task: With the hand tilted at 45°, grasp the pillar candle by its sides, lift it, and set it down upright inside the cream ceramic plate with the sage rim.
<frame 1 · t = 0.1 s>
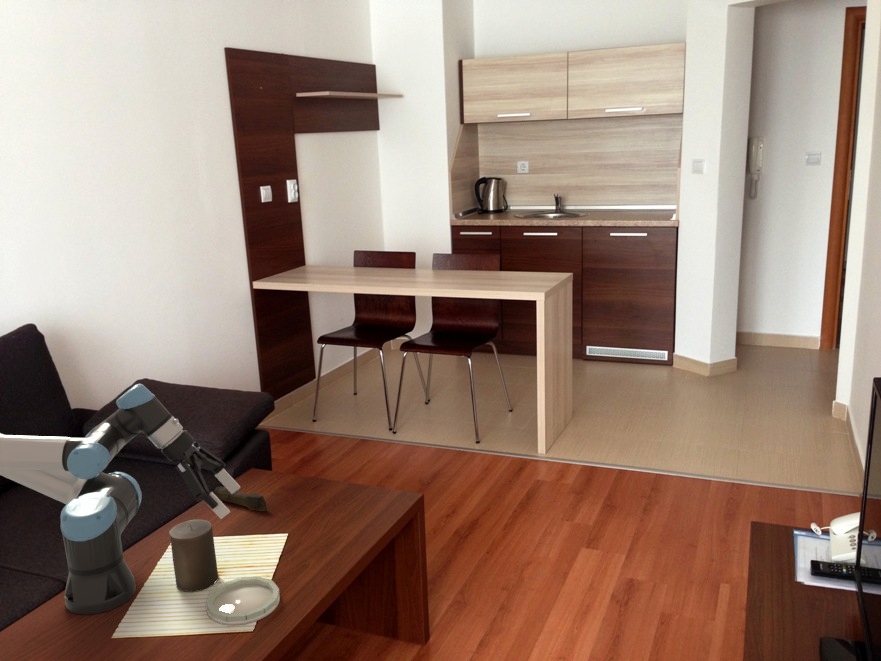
hand: (231, 502, 193), 15 cm above the table, tool tilted 35°, fingers open, 13 cm apart
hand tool: (243, 505, 226), on the table
pillar candle: (197, 581, 187), on the table
candle plate: (243, 603, 177), on the table
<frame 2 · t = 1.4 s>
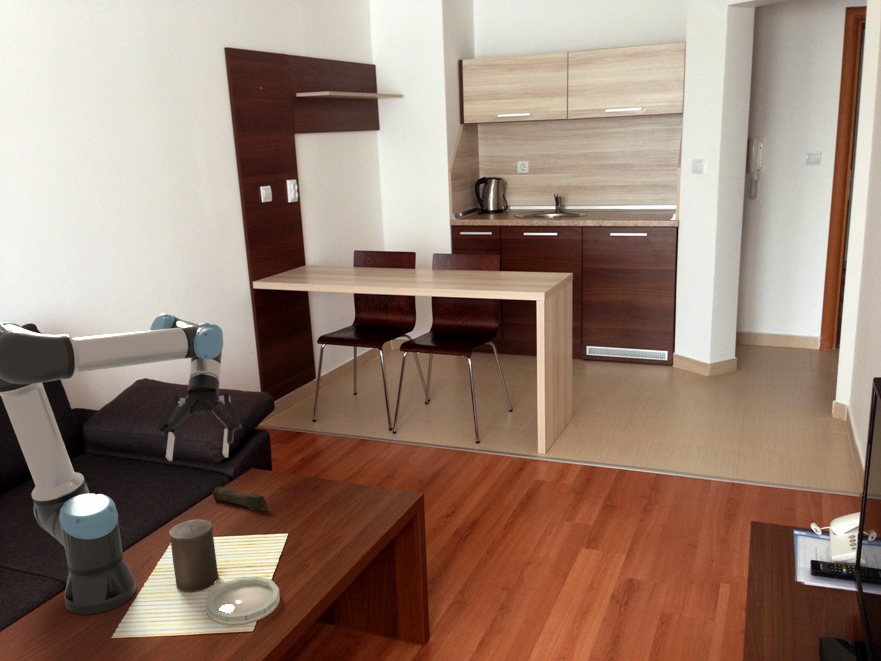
hand: (197, 457, 191), 27 cm above the table, tool tilted 45°, fingers open, 13 cm apart
nothing on the table moved.
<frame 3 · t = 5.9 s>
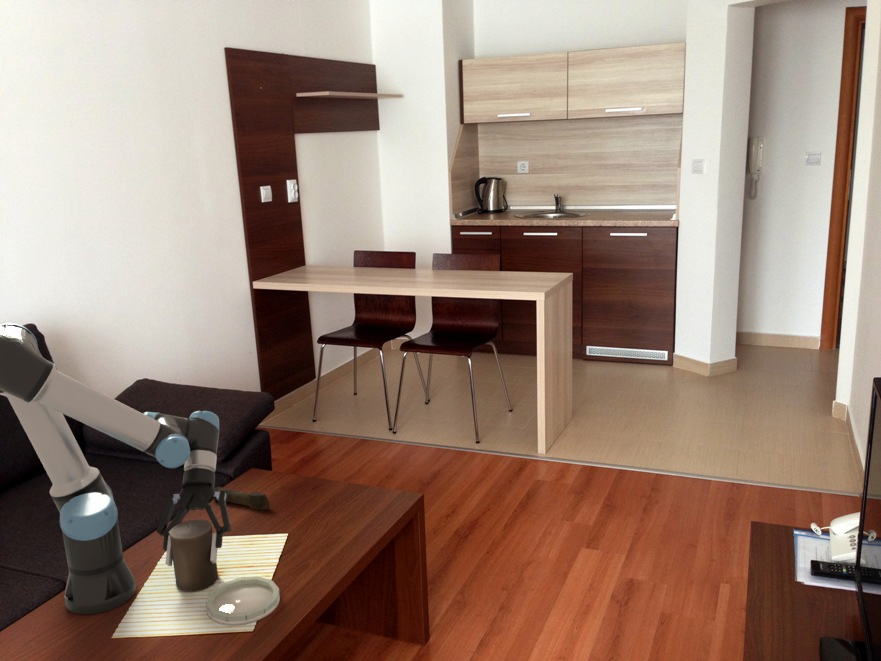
hand: (191, 563, 182), 6 cm above the table, tool tilted 45°, fingers closed on pillar candle, 9 cm apart
pillar candle: (197, 581, 187), on the table, touching gripper
when the fingers open (9 cm above the table, at t = 11.9 s): pillar candle drops 2 cm, resting on candle plate.
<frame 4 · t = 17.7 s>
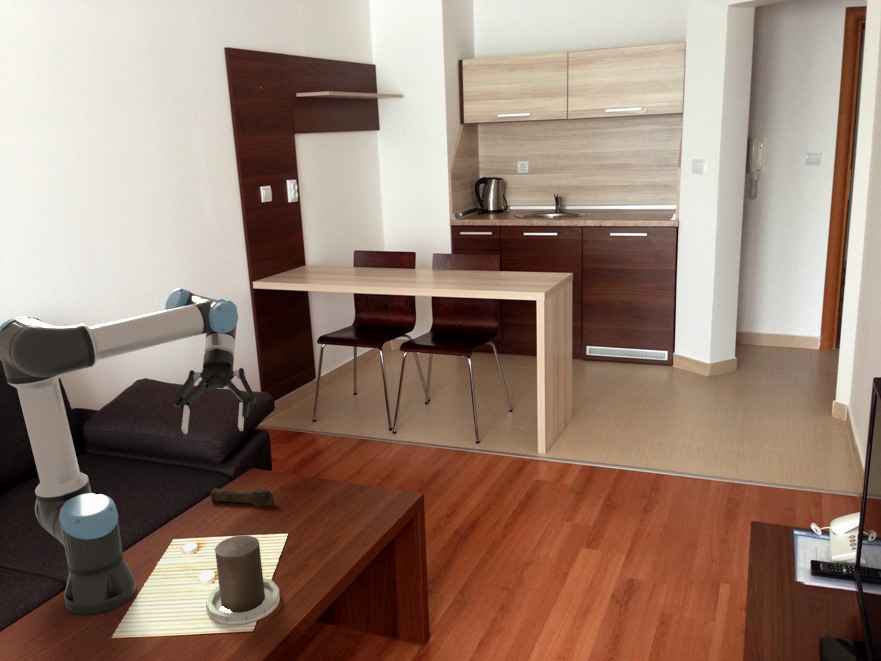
hand: (212, 430, 192), 33 cm above the table, tool tilted 45°, fingers open, 13 cm apart
pillar candle: (243, 601, 177), point 1 cm above the table, touching candle plate
at the end: pillar candle 0.2 cm from the candle plate (horizontally); pillar candle point 0.6 cm above the table; pillar candle tilted 0° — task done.
